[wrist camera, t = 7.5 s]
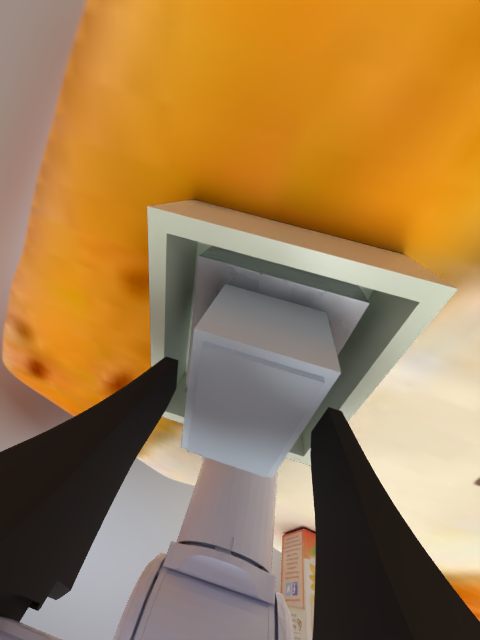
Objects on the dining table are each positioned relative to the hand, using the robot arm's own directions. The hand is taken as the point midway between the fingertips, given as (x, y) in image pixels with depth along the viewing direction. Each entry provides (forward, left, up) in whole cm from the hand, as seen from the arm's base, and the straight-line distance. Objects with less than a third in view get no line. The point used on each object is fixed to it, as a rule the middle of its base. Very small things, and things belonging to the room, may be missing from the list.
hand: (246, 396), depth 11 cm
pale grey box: (0, 0, -3) cm, 3 cm away
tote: (0, 0, -6) cm, 6 cm away
